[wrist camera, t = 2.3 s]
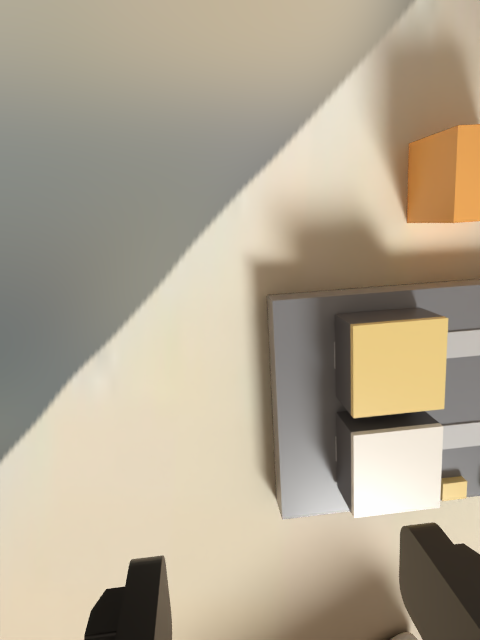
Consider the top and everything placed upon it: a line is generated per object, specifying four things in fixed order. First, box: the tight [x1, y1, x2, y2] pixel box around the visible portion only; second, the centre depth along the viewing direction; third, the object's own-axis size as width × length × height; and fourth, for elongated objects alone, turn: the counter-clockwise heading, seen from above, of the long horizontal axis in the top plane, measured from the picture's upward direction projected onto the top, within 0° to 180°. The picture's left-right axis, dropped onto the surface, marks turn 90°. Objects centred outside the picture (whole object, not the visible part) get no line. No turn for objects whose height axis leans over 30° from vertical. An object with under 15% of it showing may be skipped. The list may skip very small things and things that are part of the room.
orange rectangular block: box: [407, 124, 480, 223], centre depth 24 cm, size 4×4×5 cm
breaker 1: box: [335, 307, 448, 418], centre depth 24 cm, size 5×5×3 cm
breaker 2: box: [336, 411, 443, 518], centre depth 26 cm, size 5×5×3 cm
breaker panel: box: [267, 279, 480, 519], centre depth 28 cm, size 18×14×3 cm
